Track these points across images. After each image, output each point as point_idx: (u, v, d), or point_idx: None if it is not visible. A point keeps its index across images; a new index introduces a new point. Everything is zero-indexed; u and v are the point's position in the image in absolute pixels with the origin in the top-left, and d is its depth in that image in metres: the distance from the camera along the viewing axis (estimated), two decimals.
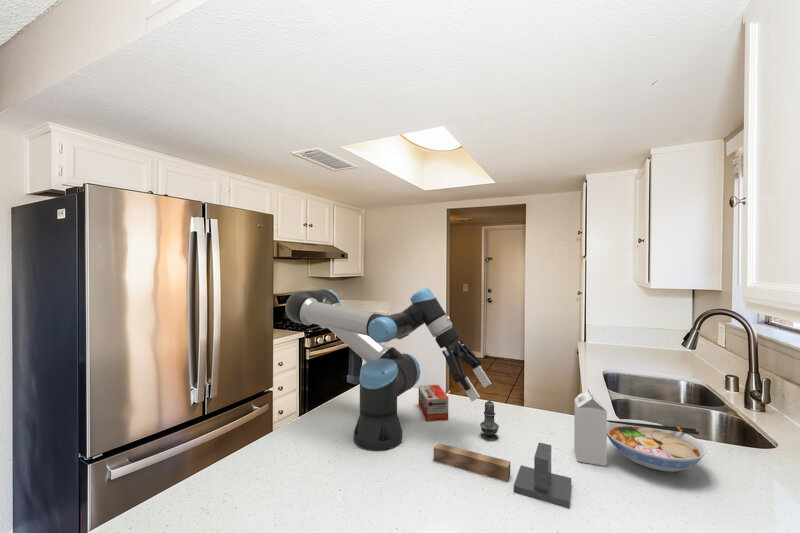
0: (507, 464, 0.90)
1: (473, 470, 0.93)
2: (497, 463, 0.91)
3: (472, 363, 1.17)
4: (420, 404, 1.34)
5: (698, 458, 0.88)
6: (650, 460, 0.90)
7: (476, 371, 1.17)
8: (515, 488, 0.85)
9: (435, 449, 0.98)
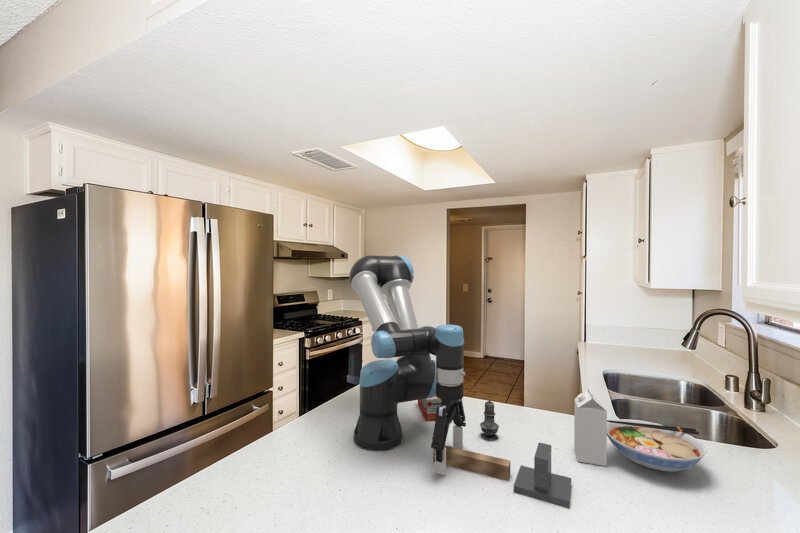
0: (508, 463, 0.91)
1: (473, 470, 0.93)
2: (497, 463, 0.91)
3: (457, 421, 1.03)
4: (419, 404, 1.34)
5: (698, 458, 0.88)
6: (650, 460, 0.90)
7: (455, 430, 1.04)
8: (515, 488, 0.85)
9: None
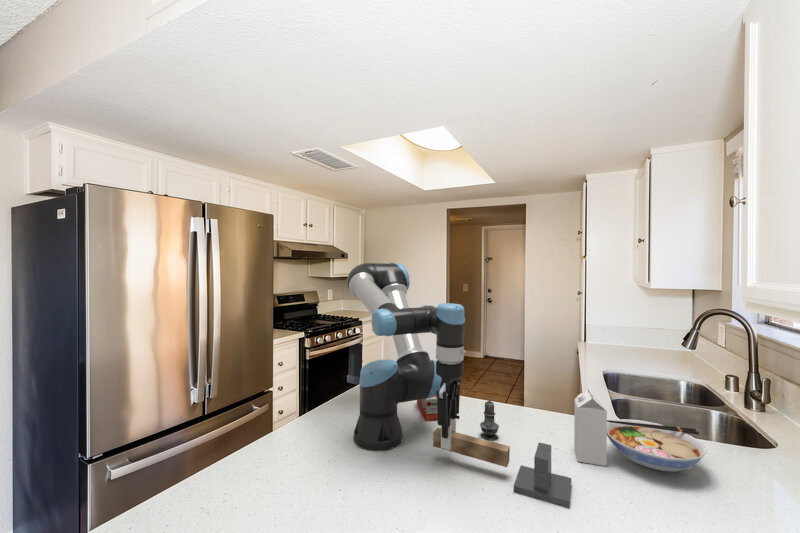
0: (507, 449, 0.91)
1: (472, 454, 0.94)
2: (496, 448, 0.91)
3: (451, 410, 1.00)
4: (418, 404, 1.34)
5: (698, 458, 0.88)
6: (650, 460, 0.90)
7: None
8: (515, 488, 0.85)
9: (435, 434, 0.99)
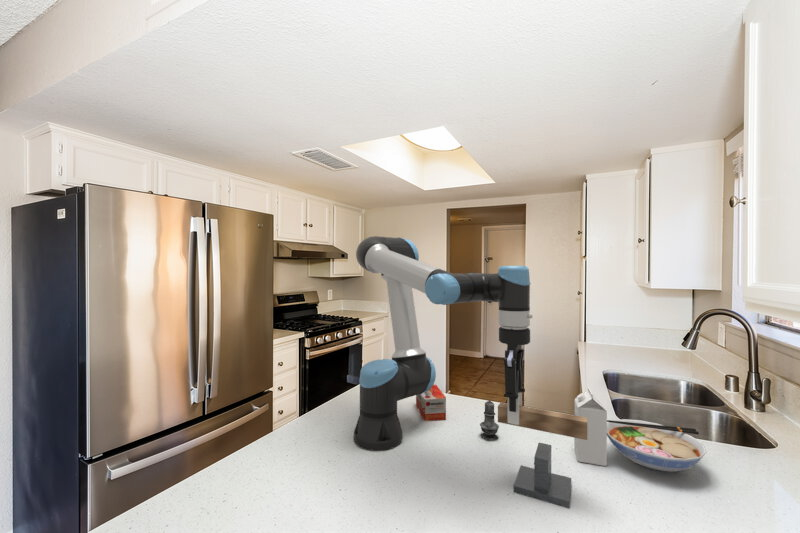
0: (585, 420, 0.82)
1: (545, 428, 0.85)
2: (574, 419, 0.82)
3: None
4: (418, 404, 1.34)
5: (698, 458, 0.88)
6: (650, 460, 0.90)
7: None
8: (515, 488, 0.85)
9: (499, 408, 0.90)
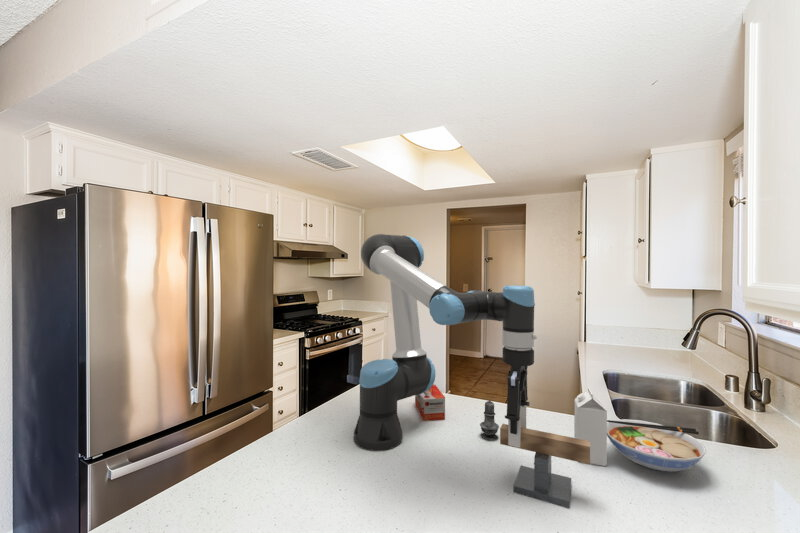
0: (588, 444, 0.82)
1: (548, 451, 0.85)
2: (576, 443, 0.82)
3: (520, 398, 0.93)
4: (417, 404, 1.34)
5: (698, 458, 0.88)
6: (650, 460, 0.90)
7: None
8: (515, 488, 0.85)
9: (502, 430, 0.90)
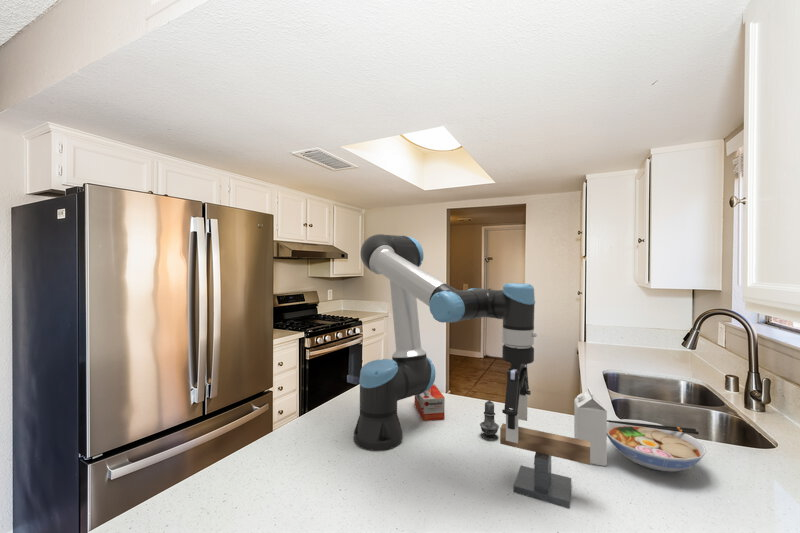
0: (588, 444, 0.82)
1: (548, 451, 0.85)
2: (576, 443, 0.82)
3: (521, 389, 0.95)
4: (416, 404, 1.34)
5: (698, 458, 0.88)
6: (650, 460, 0.90)
7: (519, 399, 0.96)
8: (515, 488, 0.85)
9: (502, 430, 0.90)
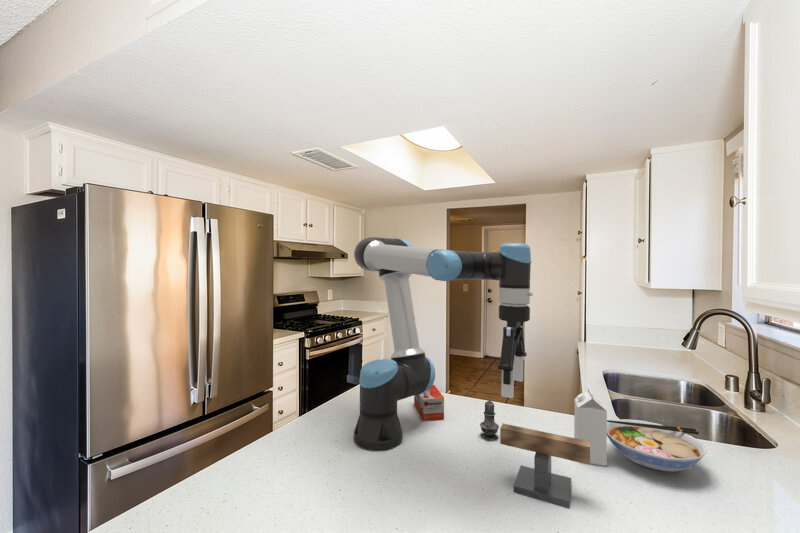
0: (588, 444, 0.82)
1: (548, 451, 0.85)
2: (576, 443, 0.82)
3: (517, 350, 0.96)
4: (416, 404, 1.34)
5: (698, 458, 0.88)
6: (650, 460, 0.90)
7: (515, 360, 0.97)
8: (515, 488, 0.85)
9: (502, 430, 0.90)
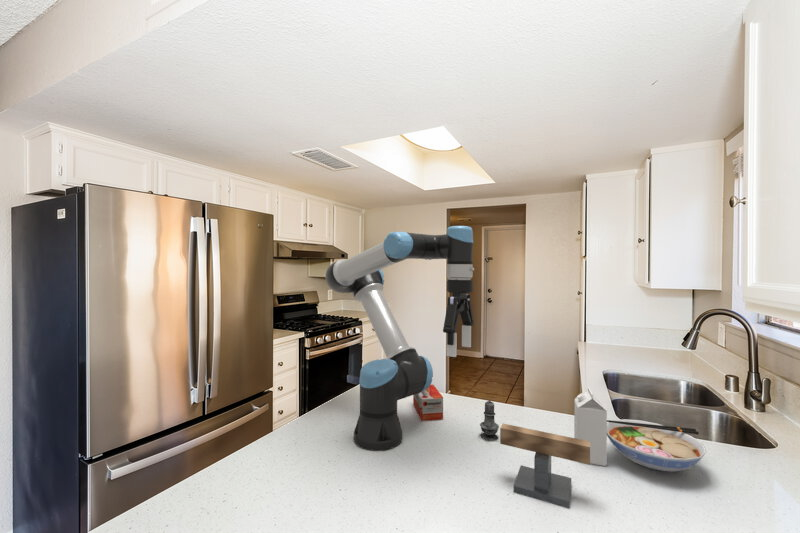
0: (588, 444, 0.82)
1: (548, 451, 0.85)
2: (576, 443, 0.82)
3: (465, 320, 1.10)
4: (415, 404, 1.34)
5: (698, 458, 0.88)
6: (650, 460, 0.90)
7: (464, 329, 1.11)
8: (515, 488, 0.85)
9: (502, 430, 0.90)
